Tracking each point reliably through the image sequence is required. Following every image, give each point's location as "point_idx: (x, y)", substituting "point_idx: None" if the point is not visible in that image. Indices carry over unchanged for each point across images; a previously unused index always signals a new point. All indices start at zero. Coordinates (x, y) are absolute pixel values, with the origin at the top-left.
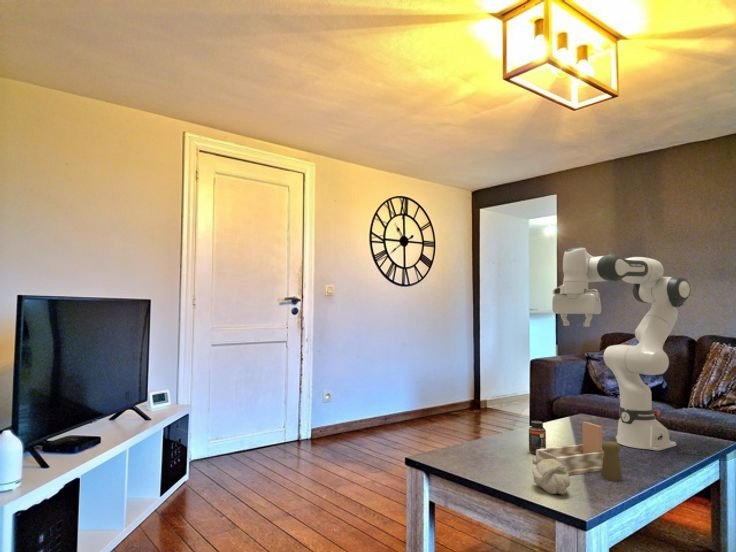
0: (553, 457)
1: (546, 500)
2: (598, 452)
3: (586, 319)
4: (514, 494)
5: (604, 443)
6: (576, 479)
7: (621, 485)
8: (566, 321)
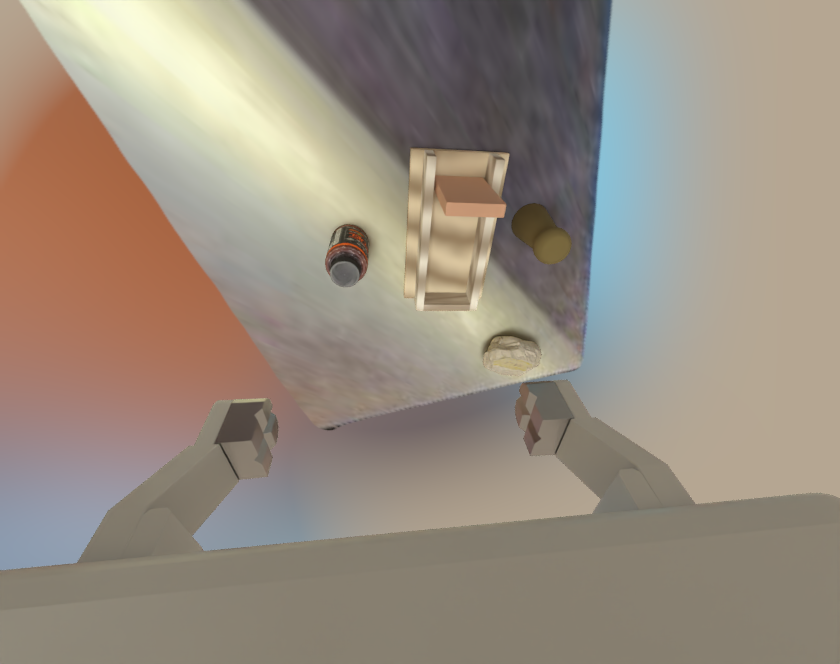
0: (462, 309)
1: None
2: None
3: (590, 479)
4: (491, 387)
5: (547, 263)
6: (500, 286)
7: None
8: (266, 469)
